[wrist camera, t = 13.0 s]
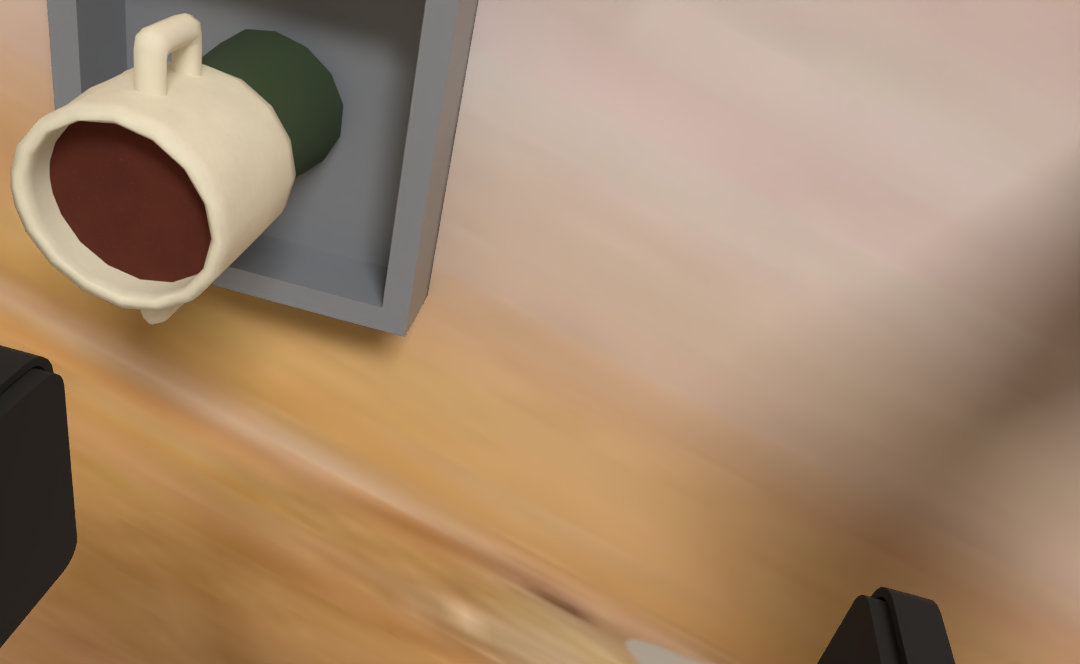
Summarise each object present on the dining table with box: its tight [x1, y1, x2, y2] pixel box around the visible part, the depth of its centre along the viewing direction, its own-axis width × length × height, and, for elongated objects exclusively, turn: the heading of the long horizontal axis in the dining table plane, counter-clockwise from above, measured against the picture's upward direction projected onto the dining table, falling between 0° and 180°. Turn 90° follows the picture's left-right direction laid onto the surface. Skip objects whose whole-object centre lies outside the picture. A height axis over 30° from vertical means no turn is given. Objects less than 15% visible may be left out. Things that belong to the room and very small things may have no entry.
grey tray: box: [47, 0, 478, 337], centre depth 38 cm, size 16×16×4 cm
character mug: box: [11, 13, 343, 325], centre depth 34 cm, size 11×7×13 cm, turn 168°
